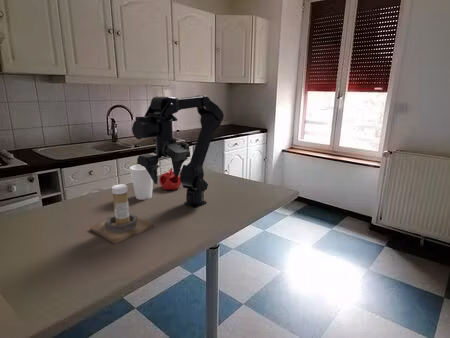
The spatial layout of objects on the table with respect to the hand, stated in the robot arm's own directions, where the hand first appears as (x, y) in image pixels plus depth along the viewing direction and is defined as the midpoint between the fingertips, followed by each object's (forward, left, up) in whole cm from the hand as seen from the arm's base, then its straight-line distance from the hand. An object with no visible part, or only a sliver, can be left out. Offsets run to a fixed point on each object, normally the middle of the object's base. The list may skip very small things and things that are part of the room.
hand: (166, 180), depth 100 cm
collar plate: (+16, -4, -13) cm, 21 cm away
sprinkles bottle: (+16, -4, -12) cm, 20 cm away
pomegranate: (-21, -22, -13) cm, 33 cm away
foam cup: (-6, -22, -13) cm, 26 cm away
